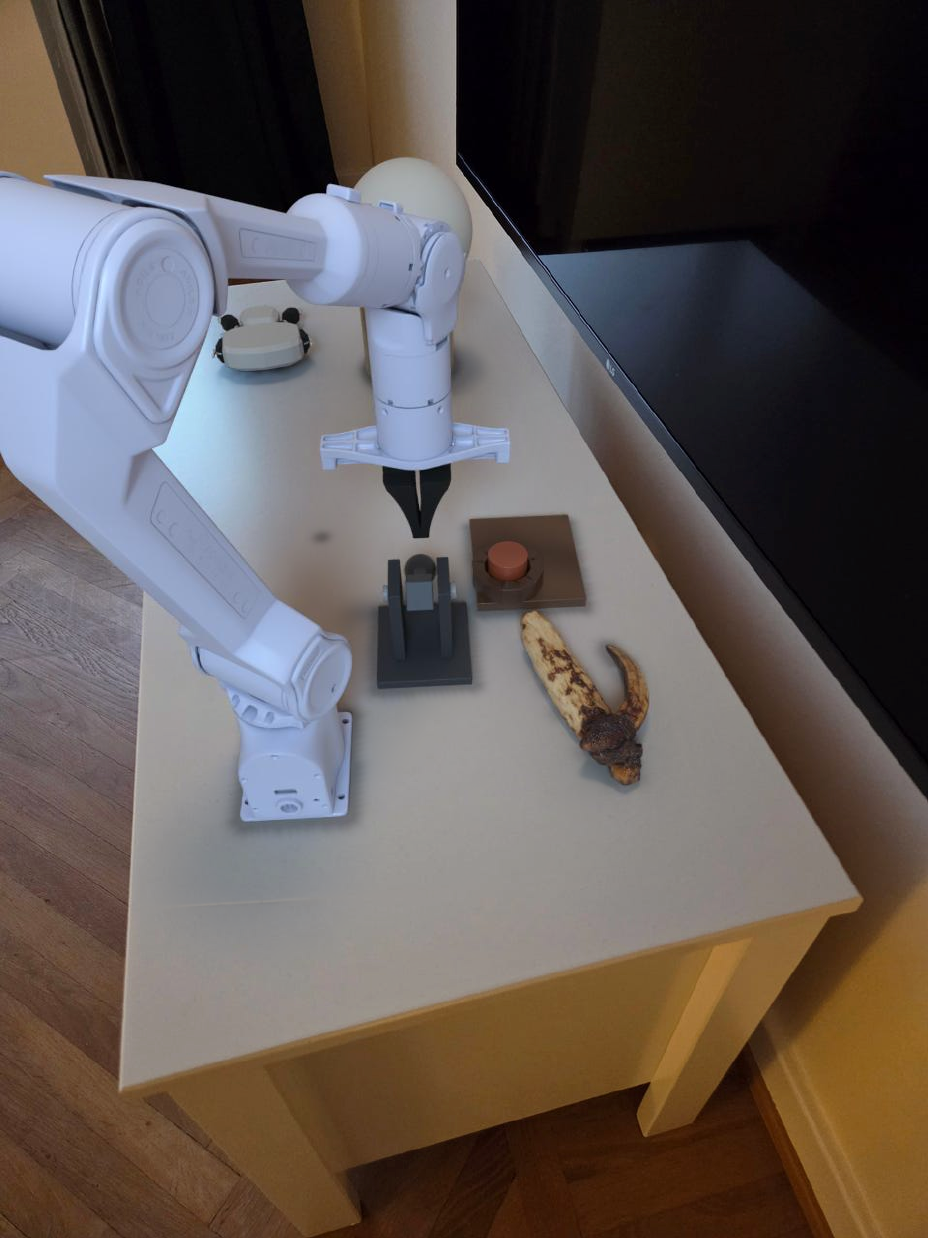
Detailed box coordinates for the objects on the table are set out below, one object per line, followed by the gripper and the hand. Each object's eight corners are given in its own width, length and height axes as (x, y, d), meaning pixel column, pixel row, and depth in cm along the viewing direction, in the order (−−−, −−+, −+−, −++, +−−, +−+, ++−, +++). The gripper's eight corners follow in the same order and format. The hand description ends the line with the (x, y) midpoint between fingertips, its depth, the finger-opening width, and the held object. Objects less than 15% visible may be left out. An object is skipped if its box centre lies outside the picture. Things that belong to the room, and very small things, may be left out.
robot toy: (218, 337, 114) (218, 387, 103) (210, 304, 111) (209, 352, 100) (308, 327, 116) (318, 375, 105) (303, 294, 113) (312, 340, 102)
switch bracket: (379, 613, 77) (370, 541, 71) (466, 609, 77) (464, 537, 71) (377, 690, 71) (367, 619, 64) (472, 685, 71) (471, 614, 65)
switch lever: (405, 583, 78) (403, 551, 78) (437, 581, 78) (435, 550, 78) (402, 615, 68) (399, 579, 67) (438, 613, 68) (437, 577, 67)
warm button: (528, 580, 76) (529, 566, 75) (489, 582, 76) (489, 568, 75) (524, 554, 78) (525, 540, 77) (486, 555, 78) (486, 541, 77)
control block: (585, 609, 77) (588, 586, 75) (474, 614, 77) (474, 591, 75) (567, 523, 85) (569, 500, 83) (466, 527, 85) (466, 504, 83)
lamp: (490, 393, 102) (493, 173, 84) (380, 418, 99) (358, 195, 81) (446, 336, 112) (440, 128, 94) (345, 357, 109) (318, 145, 90)
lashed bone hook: (698, 767, 66) (588, 612, 77) (713, 732, 62) (595, 575, 73) (593, 806, 63) (495, 639, 74) (603, 772, 60) (499, 602, 71)
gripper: (506, 355, 64) (502, 497, 74) (315, 362, 63) (337, 504, 73) (515, 406, 59) (509, 551, 69) (308, 414, 58) (332, 558, 68)
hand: (420, 530), depth 71 cm, fingers closed
